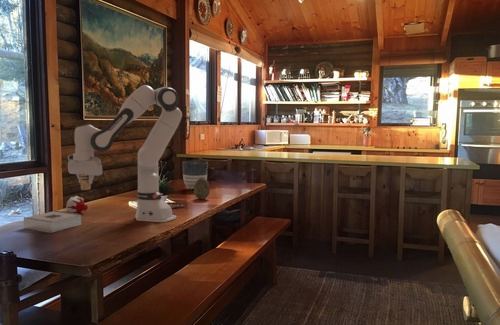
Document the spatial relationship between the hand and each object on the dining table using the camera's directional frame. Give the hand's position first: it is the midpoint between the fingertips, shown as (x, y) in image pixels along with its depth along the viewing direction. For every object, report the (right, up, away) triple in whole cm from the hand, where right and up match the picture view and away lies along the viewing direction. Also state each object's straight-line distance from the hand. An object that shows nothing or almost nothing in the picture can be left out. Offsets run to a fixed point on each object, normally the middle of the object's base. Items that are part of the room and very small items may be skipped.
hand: (85, 183), depth 215 cm
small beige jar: (0, -3, 0) cm, 3 cm away
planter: (+42, -10, +111) cm, 119 cm away
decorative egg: (+51, -15, +69) cm, 88 cm away
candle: (-14, -18, +22) cm, 31 cm away
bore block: (-12, -21, -9) cm, 26 cm away
